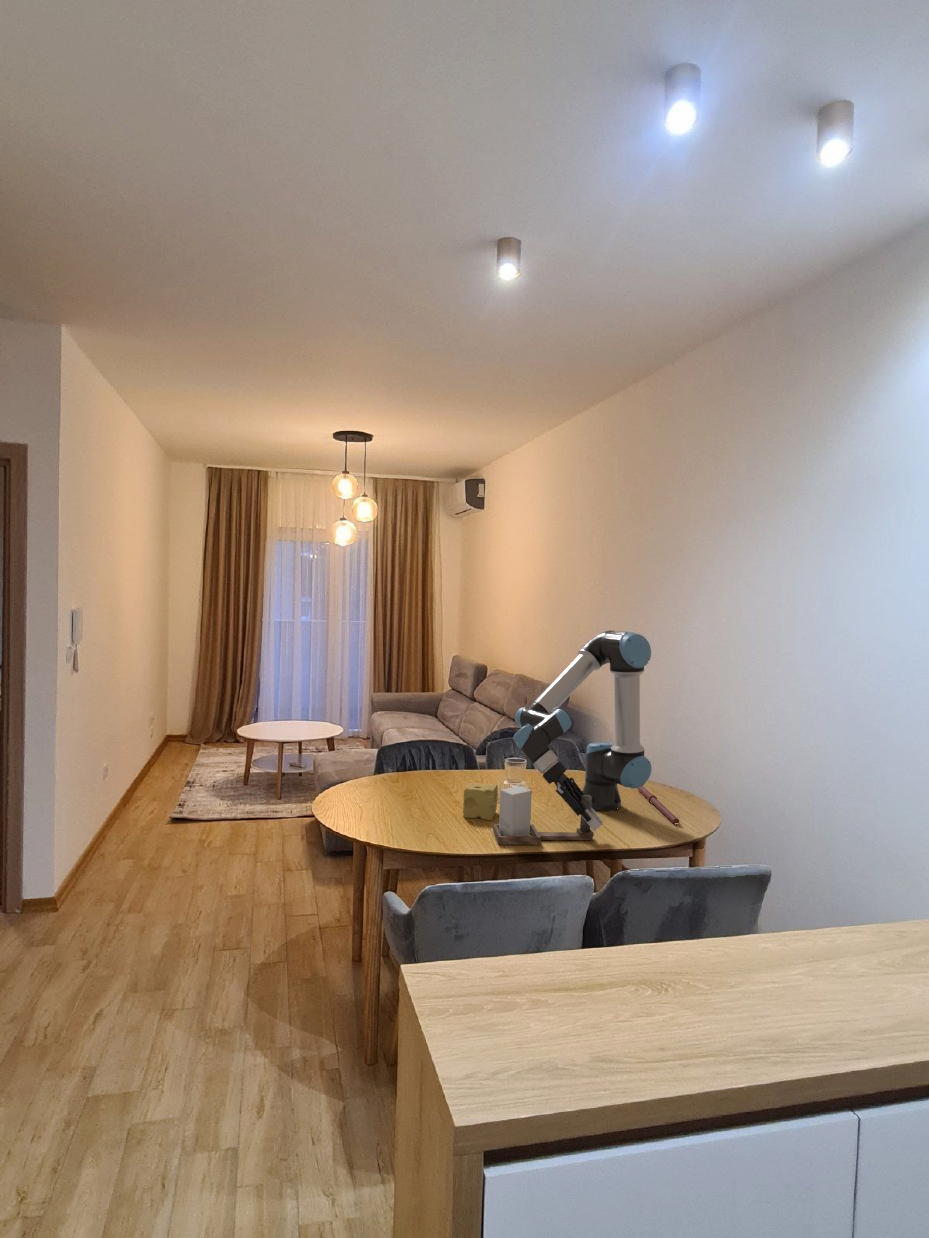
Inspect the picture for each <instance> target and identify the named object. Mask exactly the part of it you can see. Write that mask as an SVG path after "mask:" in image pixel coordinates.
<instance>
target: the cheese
mask: <svg viewBox="0 0 929 1238" xmlns="http://www.w3.org/2000/svg"><path fill="white" fill-rule="evenodd" d="M498 788H499V787H498V784H497V783H496V784H495V783H477V782H469V783H468V784H467V786H466V787H465V788H464V790H463V804H462V805H463V806H462V807H463V808H462V810H463V812H462V814H463V815H462V816H463V818H470V819H479V818H480V819H481V820H488V821H492V820H493V818H494V816H495V814H497V813H496V812H497V806H498V798H499V797H498V795H499V793H498V791H499V790H498Z"/></svg>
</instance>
